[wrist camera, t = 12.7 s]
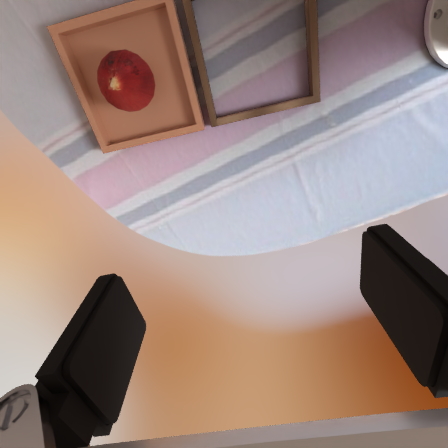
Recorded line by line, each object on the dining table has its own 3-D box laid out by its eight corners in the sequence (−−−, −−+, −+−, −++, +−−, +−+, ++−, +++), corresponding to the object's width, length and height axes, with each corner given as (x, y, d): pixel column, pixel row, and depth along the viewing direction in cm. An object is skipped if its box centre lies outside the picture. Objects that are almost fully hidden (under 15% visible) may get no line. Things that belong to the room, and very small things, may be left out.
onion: (106, 57, 30) (69, 49, 23) (154, 50, 29) (133, 39, 22) (121, 111, 33) (93, 119, 26) (166, 105, 32) (150, 111, 25)
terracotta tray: (173, -4, 28) (169, -11, 26) (205, 127, 34) (204, 129, 32) (58, 30, 29) (46, 26, 27) (109, 149, 35) (103, 153, 34)
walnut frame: (310, -44, 26) (314, -51, 25) (316, 100, 33) (320, 101, 31) (181, -7, 28) (179, -11, 26) (212, 125, 34) (211, 127, 33)
